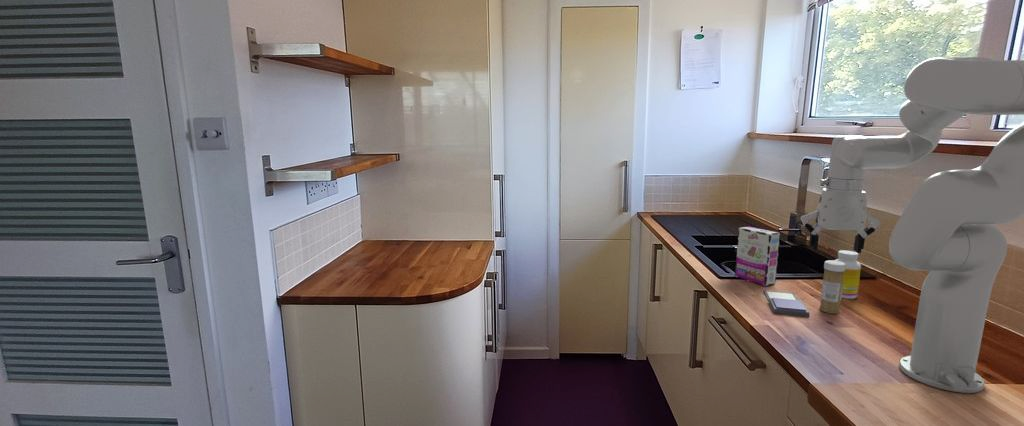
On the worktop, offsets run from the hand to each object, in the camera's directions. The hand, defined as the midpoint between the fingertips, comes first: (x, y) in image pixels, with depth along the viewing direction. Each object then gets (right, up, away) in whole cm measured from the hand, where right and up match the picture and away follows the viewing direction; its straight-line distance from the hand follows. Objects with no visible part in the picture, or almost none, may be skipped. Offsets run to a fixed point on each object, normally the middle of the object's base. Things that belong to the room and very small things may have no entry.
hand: (835, 250), depth 124 cm
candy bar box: (-7, -12, +27) cm, 30 cm away
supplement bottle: (+11, -14, +13) cm, 23 cm away
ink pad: (-10, -16, +4) cm, 19 cm away
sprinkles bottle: (0, -17, +3) cm, 17 cm away
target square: (-7, -14, +12) cm, 20 cm away
